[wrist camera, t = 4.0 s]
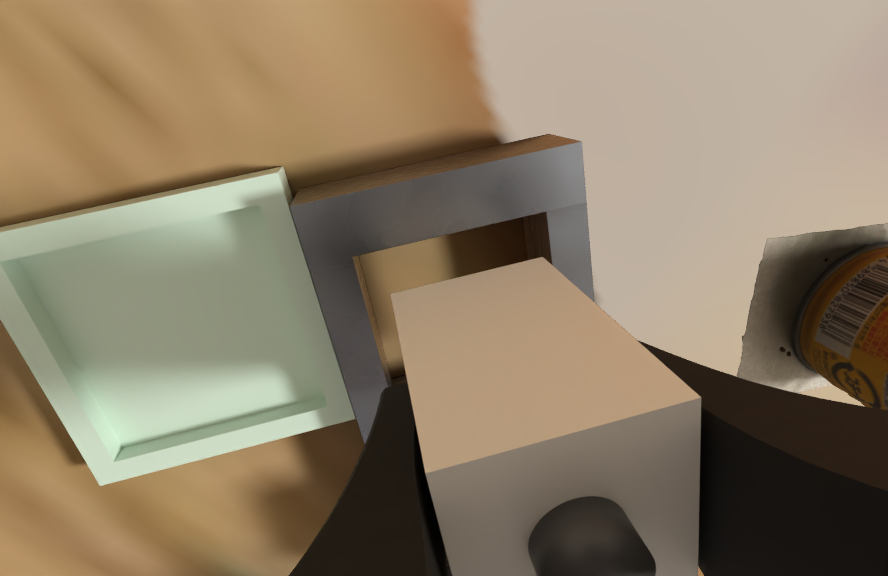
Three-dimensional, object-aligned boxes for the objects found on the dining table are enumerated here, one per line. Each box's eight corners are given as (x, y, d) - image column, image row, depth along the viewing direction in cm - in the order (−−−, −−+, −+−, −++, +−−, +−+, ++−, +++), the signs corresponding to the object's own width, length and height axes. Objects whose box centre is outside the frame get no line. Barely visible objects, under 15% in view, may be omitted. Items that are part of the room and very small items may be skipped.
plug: (558, 385, 15) (729, 633, 8) (422, 421, 14) (485, 710, 8) (542, 256, 13) (740, 432, 6) (390, 294, 13) (434, 520, 6)
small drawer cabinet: (589, 536, 23) (624, 601, 20) (419, 586, 22) (429, 661, 19) (548, 134, 16) (593, 143, 13) (298, 189, 15) (286, 212, 12)
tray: (355, 399, 18) (355, 418, 17) (115, 461, 18) (100, 486, 17) (283, 166, 15) (277, 172, 14) (-16, 230, 14) (-46, 242, 13)
